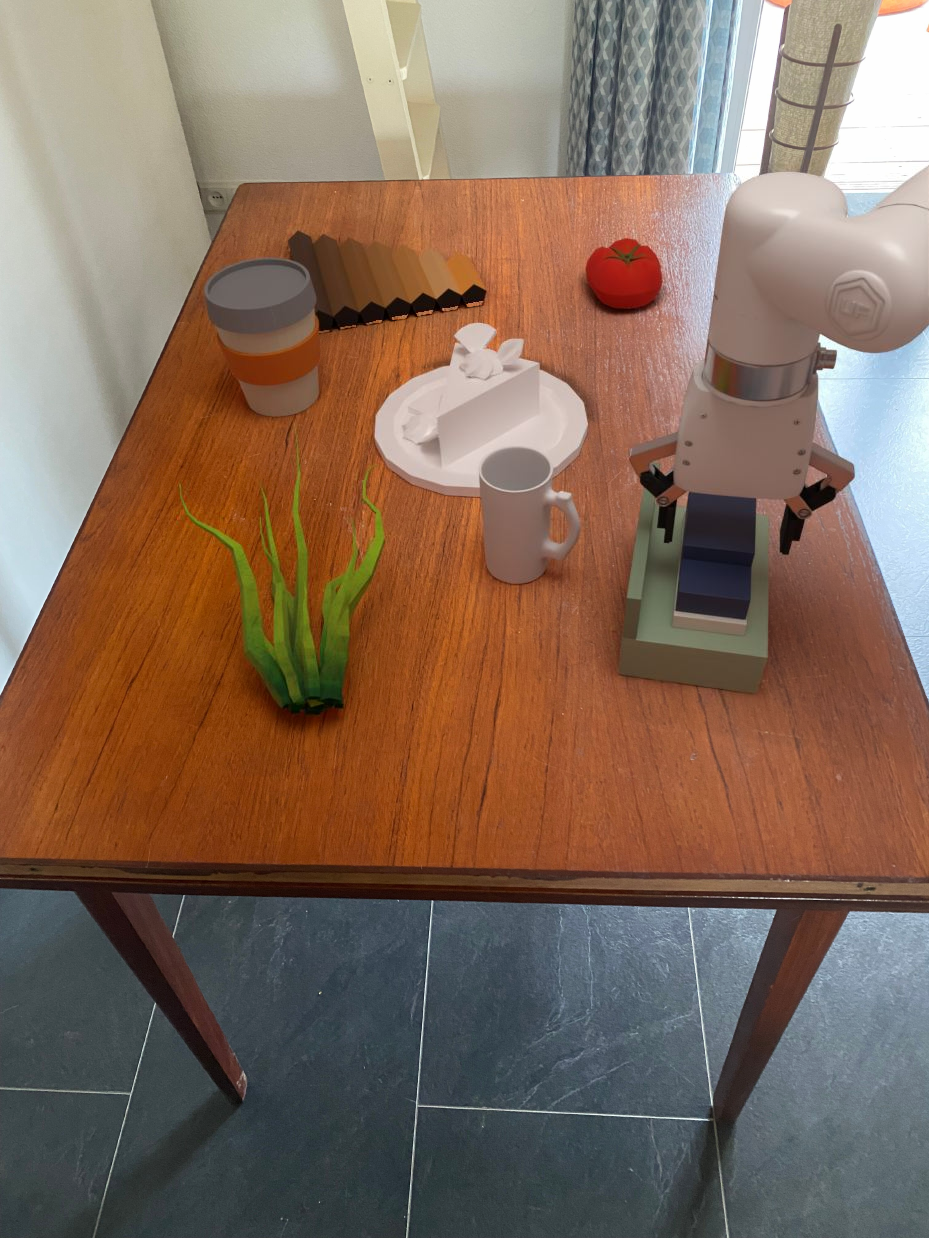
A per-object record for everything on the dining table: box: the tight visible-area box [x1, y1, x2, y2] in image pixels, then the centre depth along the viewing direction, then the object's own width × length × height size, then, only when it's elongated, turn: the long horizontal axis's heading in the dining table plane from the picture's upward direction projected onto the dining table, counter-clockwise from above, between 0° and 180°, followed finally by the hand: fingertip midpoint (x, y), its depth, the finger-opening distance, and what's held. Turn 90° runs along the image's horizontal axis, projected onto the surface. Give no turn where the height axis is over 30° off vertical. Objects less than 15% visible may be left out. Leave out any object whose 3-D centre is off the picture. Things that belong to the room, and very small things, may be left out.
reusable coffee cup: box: [203, 257, 321, 418], centre depth 108 cm, size 13×13×15 cm
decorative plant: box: [178, 422, 386, 716], centre depth 84 cm, size 18×30×15 cm, turn 169°
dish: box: [374, 322, 589, 498], centre depth 103 cm, size 25×25×11 cm
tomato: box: [584, 237, 663, 310], centre depth 123 cm, size 10×11×6 cm
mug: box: [479, 446, 581, 585], centre depth 86 cm, size 10×7×12 cm, turn 59°
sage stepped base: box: [617, 461, 770, 695], centre depth 82 cm, size 12×18×10 cm, turn 167°
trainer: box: [672, 491, 757, 636], centre depth 80 cm, size 14×6×6 cm, turn 167°
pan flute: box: [287, 230, 488, 331], centre depth 132 cm, size 25×3×25 cm
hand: (725, 538), depth 78 cm, fingers open, 9 cm apart
